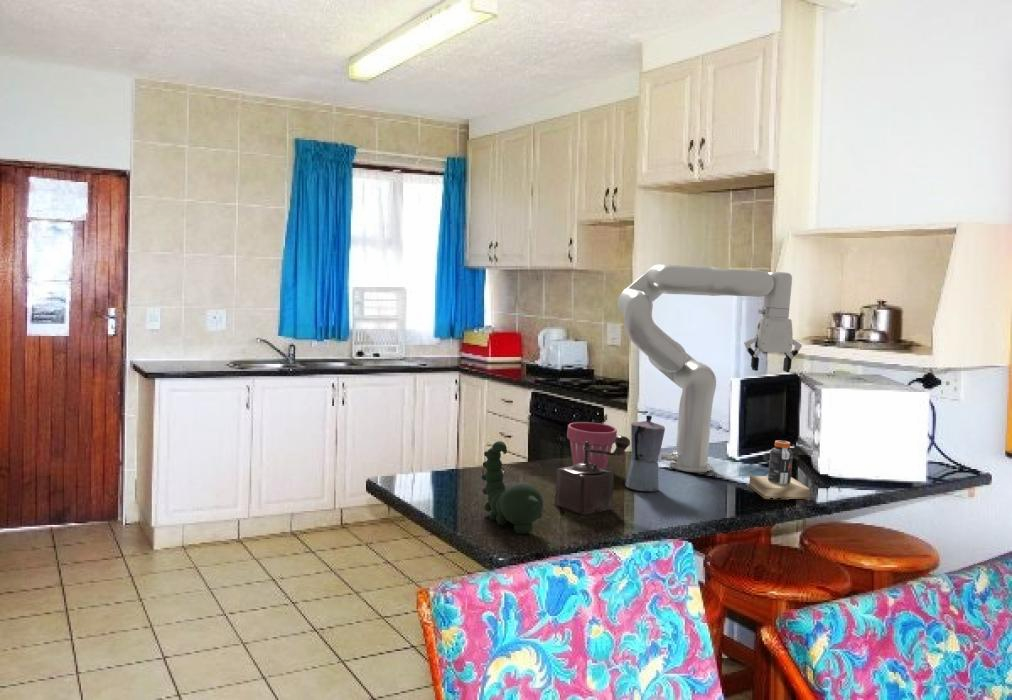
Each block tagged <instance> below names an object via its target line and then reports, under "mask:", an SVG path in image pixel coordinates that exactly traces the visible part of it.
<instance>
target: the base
mask: <svg viewBox="0 0 1012 700" xmlns="http://www.w3.org/2000/svg"><path fill="white" fill-rule="evenodd" d="M747 487H749V488H750V489H751V490H753V491H754V492H755V493H756V494H757V495H759V496H760V497H761V498H763V500H764V499H765V500H771V499H770V498H773V499H772V500H778V499H777V498H781V499H780V500H789V499H810V500H811V497H810V488H809V487H808V486H806V485H804V484H803V483H801V482H800V481H798V480H797V479H795V478H793V477H792V476H791V481H790V483H789V484H776V483H772V482H770V481H768V475H749V481H748V483H747Z"/></svg>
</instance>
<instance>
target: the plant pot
mask: <svg viewBox="0 0 1012 700" xmlns="http://www.w3.org/2000/svg"><path fill="white" fill-rule="evenodd" d="M566 432H567V433H566V437H567V439H568V441H569V443H570V451H571V452H570V453H571V458H572V466H574V465H576V464H578V463H581V462H583V461H584V458H585V450H584V447H585V445H584V443H585V442H586V441H587V442H589V443H590V444H589V448H590V449H592V450H593V449H594V450H603V451H607V452H612V449H613V445H614V444H615V442H614V441H615V438H616V437H617V436H618V430H617V428H616V427H615V426H613V425H610V424H605V423H600V422H589V421H576V422H571V423H569V424H567V431H566ZM609 458H610V455H605V454H600V453H591V452H589V451H588V462H589V463H594V465H597V467H598V468H601V469H604V470H607V469H606V468H607V465H608V461H609Z"/></svg>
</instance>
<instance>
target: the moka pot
mask: <svg viewBox="0 0 1012 700" xmlns="http://www.w3.org/2000/svg"><path fill="white" fill-rule="evenodd" d="M652 417H653V415H650V414H649V415H646V420H644V421H634V422H631V424H630V431H631V433H630V435H631V436H630V437H631V438H630V439H631V440H630V445H631V460H630V463H629V467H628V472H627V475H626V479H625V482H624V483H625V484H624V485H625V487H626V488H627V489H631V490H634V491H638V492H639V491H640V492H657V491H659V488H660V487H659V464H658V462H659V455H660V453H661V450H662V445H663V440H664V436H665V430H666V428H665V426H664V425H662V424H658V423H655V422H652Z"/></svg>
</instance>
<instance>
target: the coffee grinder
mask: <svg viewBox="0 0 1012 700" xmlns="http://www.w3.org/2000/svg"><path fill="white" fill-rule="evenodd" d="M614 442H615V443H614V444H615V449H614V451H613V452H612V451H611V452H607V451H603V450H594V449H593V450H592V449H590V448H589V444H590V443H589V442H587V441H586V442H585V443H584V445H585V447H584V450H585V458H584V461H583V462H581V463H578V464H576V465H574V466H573V465H571V466H565V467H559V468H557V469H556V483H555V497H554V505H555V506H556V507H559V508H561V509H564V510H567V511H569V512H572V513H573V514H574V513H575V514H577V515H580V516H587V515H588V516H589V515H594V514H598V513H602V512H605V511H609V510H612V509H613V495H614V494H613V493H614V478H615V472H613V471H610V470H607V469H605V470H604V469H601V468H598V467H597V465H594V463H589V462H588V451H589V452H591V453H600V454H605V455H609V456H617V457H619V456H625V455H626V453H625V452H626V450H627V448H628V447H629V446H630V445H631V440H630V439H629V437H627V436H624V435H617V436H616V438H615V441H614Z"/></svg>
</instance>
